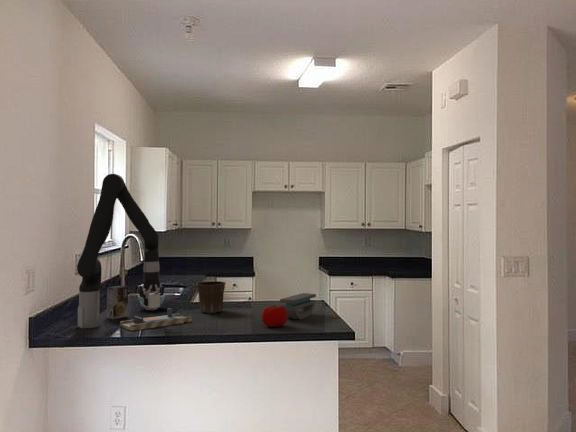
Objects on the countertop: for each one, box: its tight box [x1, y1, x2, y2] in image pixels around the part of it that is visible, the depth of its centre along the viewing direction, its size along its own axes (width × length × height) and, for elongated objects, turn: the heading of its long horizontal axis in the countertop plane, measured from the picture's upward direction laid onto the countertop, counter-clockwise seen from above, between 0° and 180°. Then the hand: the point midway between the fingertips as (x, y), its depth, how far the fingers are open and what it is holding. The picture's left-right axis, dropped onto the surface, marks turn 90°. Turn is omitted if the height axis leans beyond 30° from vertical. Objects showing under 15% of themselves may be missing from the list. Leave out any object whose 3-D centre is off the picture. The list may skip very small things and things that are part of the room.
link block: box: [144, 292, 161, 308], centre depth 256 cm, size 5×7×6 cm
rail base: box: [119, 313, 193, 332], centre depth 258 cm, size 32×13×4 cm, turn 131°
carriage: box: [142, 307, 177, 323], centre depth 258 cm, size 16×9×5 cm, turn 131°
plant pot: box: [196, 280, 227, 314], centre depth 292 cm, size 16×16×16 cm
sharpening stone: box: [279, 292, 317, 320], centre depth 276 cm, size 25×8×11 cm, turn 150°
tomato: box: [261, 304, 288, 328], centre depth 252 cm, size 11×13×10 cm
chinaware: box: [137, 294, 166, 311], centre depth 300 cm, size 15×15×8 cm
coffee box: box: [106, 285, 129, 320], centre depth 276 cm, size 9×6×16 cm
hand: (151, 305), depth 256 cm, fingers closed on link block, 5 cm apart
